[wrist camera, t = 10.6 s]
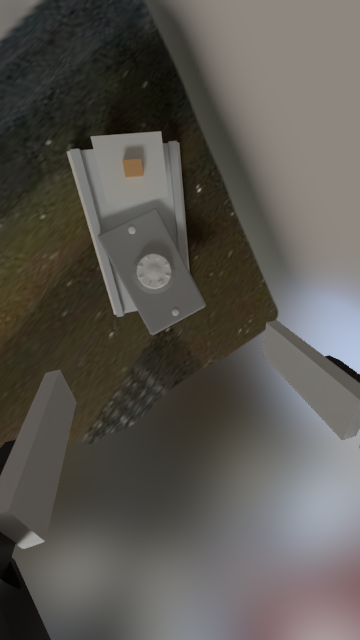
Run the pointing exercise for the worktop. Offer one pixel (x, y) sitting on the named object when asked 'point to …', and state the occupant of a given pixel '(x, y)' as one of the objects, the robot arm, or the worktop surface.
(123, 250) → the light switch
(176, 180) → the rail board
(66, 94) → the worktop surface
